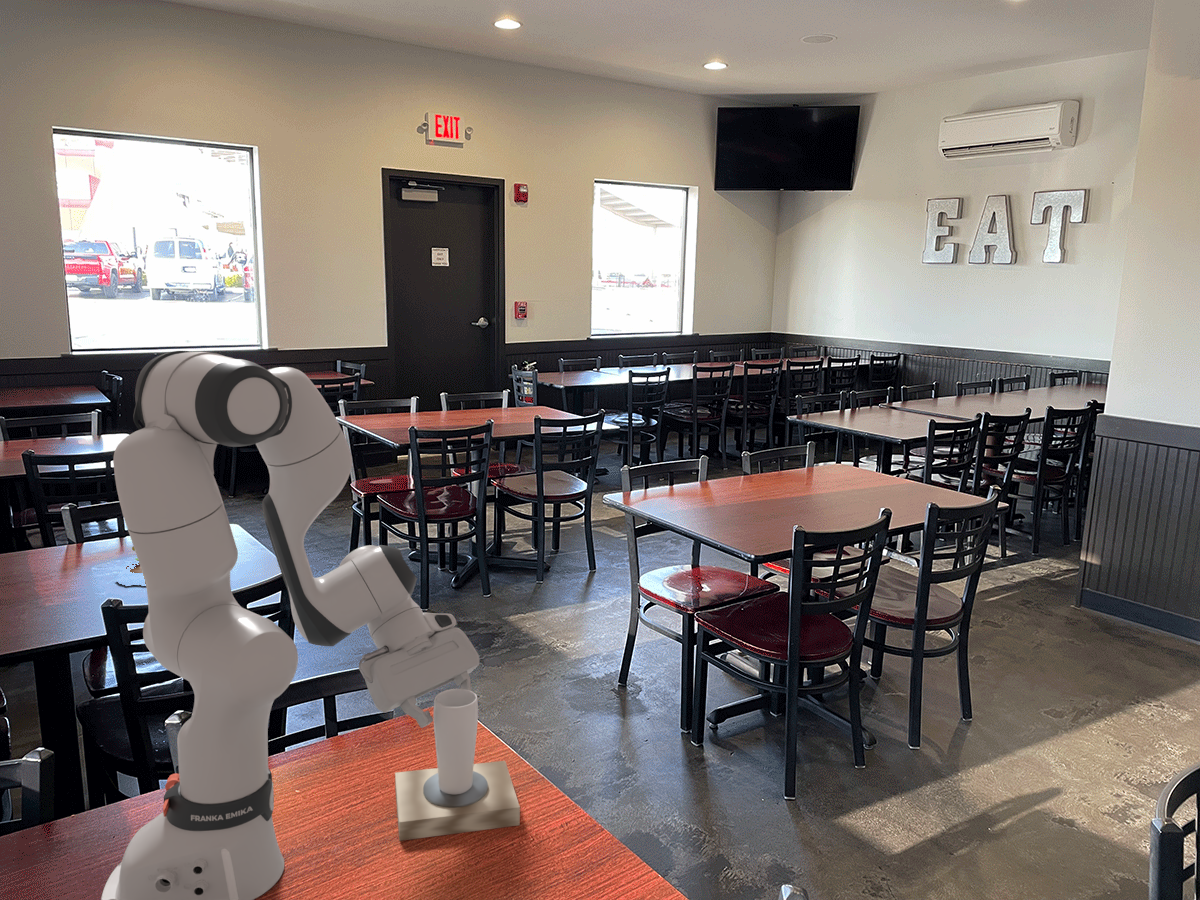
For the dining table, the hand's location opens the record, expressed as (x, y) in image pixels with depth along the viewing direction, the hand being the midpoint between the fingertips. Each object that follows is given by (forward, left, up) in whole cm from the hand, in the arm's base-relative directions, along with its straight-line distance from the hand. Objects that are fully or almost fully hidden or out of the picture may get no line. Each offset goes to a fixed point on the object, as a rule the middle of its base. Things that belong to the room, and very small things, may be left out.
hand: (449, 713), depth 137 cm
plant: (-68, +130, -16) cm, 148 cm away
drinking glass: (+1, -1, -12) cm, 12 cm away
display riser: (+1, -1, -16) cm, 16 cm away
